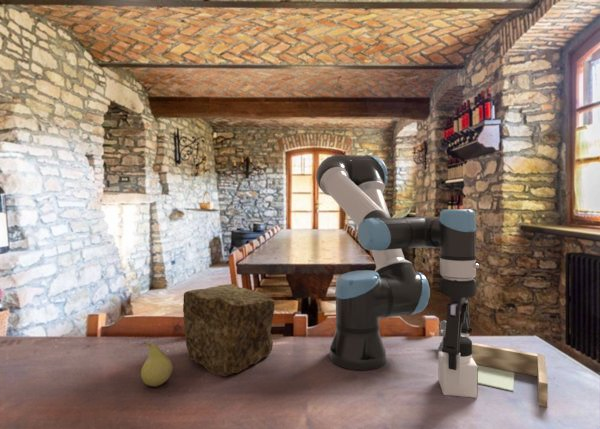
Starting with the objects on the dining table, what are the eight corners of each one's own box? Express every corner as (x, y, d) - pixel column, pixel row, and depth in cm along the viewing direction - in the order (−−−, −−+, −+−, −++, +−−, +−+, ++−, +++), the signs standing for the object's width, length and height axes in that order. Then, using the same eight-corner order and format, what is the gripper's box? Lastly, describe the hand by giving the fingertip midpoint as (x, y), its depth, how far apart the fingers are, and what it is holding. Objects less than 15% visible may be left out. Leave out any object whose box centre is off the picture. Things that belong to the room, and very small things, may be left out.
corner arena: (439, 382, 88) (439, 361, 88) (451, 357, 103) (451, 339, 102) (547, 407, 77) (547, 383, 77) (544, 375, 92) (544, 355, 91)
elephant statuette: (441, 358, 103) (442, 331, 102) (429, 339, 115) (430, 315, 114) (475, 359, 102) (477, 332, 102) (460, 340, 114) (461, 315, 114)
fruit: (178, 380, 90) (177, 331, 90) (156, 395, 83) (155, 342, 83) (155, 376, 93) (154, 328, 92) (132, 391, 86) (131, 339, 85)
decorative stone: (226, 276, 116) (281, 283, 106) (226, 340, 116) (280, 354, 107) (172, 288, 97) (231, 299, 88) (172, 365, 98) (231, 384, 88)
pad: (464, 380, 89) (464, 379, 89) (470, 364, 98) (470, 363, 98) (513, 391, 84) (513, 390, 84) (514, 373, 92) (514, 372, 92)
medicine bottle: (478, 398, 81) (478, 344, 81) (443, 395, 83) (443, 341, 82) (469, 382, 88) (470, 332, 88) (438, 380, 90) (438, 330, 89)
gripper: (468, 290, 72) (469, 399, 72) (482, 270, 93) (482, 354, 94) (428, 286, 76) (428, 390, 76) (450, 268, 97) (450, 349, 97)
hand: (458, 370), depth 85 cm, fingers open, 13 cm apart
